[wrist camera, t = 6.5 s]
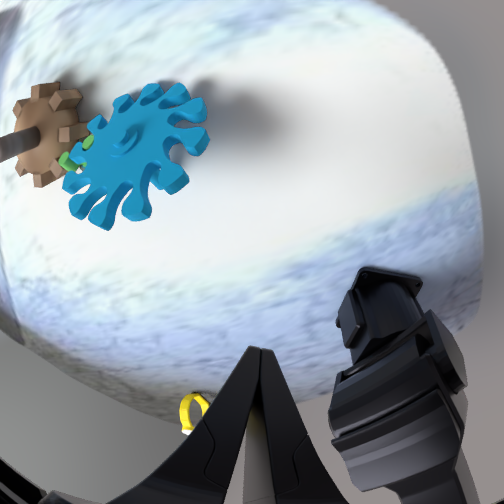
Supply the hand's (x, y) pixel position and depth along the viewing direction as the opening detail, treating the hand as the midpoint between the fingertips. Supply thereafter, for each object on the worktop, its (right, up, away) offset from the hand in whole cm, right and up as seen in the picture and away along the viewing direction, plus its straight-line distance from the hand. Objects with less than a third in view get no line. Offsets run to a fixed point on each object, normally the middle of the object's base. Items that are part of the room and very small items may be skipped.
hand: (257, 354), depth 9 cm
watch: (-7, -17, +25) cm, 31 cm away
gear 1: (-17, +14, +8) cm, 23 cm away
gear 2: (-7, +12, +8) cm, 16 cm away
